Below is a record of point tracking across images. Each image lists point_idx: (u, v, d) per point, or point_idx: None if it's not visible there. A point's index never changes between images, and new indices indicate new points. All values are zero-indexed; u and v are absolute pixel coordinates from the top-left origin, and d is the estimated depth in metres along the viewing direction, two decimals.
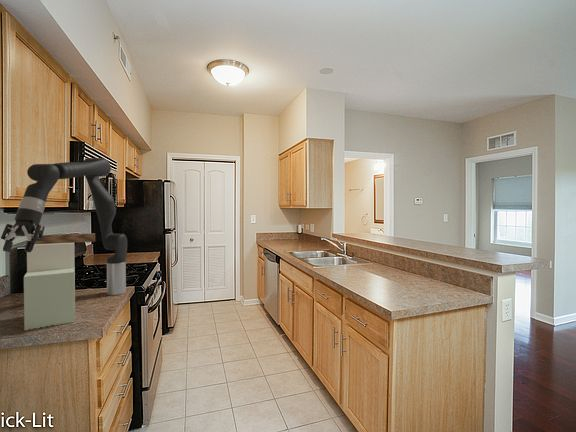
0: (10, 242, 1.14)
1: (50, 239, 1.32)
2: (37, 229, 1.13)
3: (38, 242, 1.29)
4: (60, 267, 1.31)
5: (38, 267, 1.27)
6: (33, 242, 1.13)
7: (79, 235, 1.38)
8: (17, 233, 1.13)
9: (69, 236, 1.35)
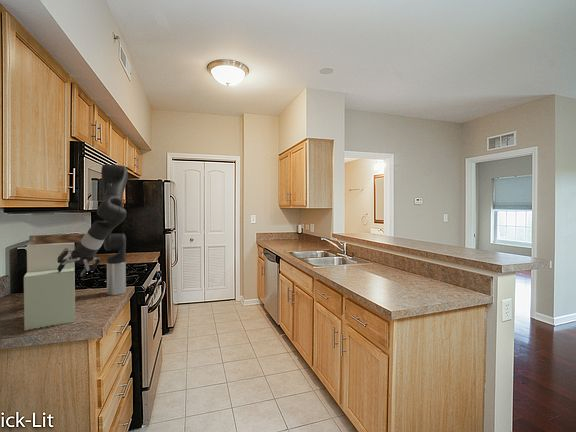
0: None
1: (50, 239, 1.32)
2: (97, 263, 1.32)
3: (38, 242, 1.29)
4: None
5: (38, 267, 1.27)
6: None
7: (79, 235, 1.38)
8: (76, 261, 1.27)
9: (69, 236, 1.35)
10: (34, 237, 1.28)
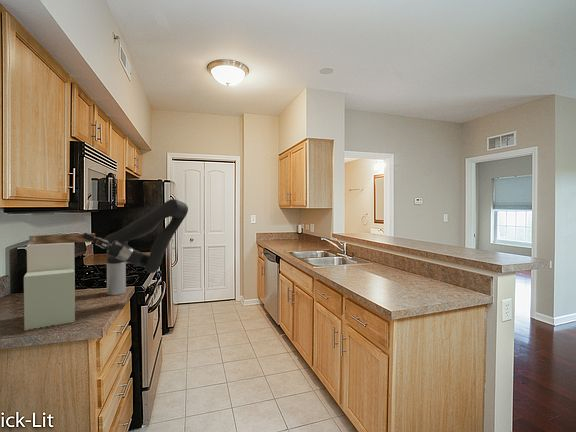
0: None
1: (50, 239, 1.32)
2: None
3: (38, 242, 1.29)
4: (60, 267, 1.31)
5: (38, 267, 1.27)
6: None
7: (79, 235, 1.38)
8: None
9: (69, 236, 1.35)
10: (34, 237, 1.28)
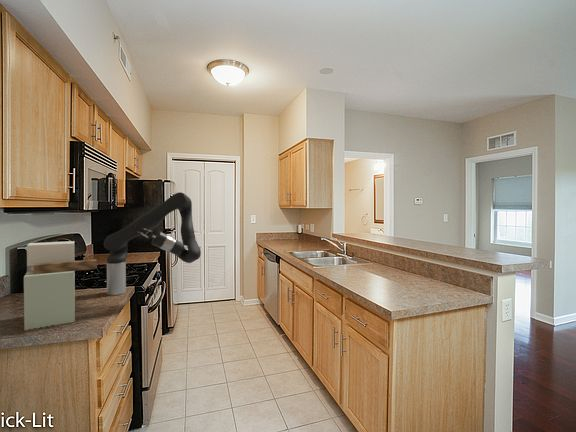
0: None
1: (49, 267, 1.24)
2: None
3: (36, 272, 1.21)
4: None
5: None
6: None
7: (80, 262, 1.30)
8: None
9: (69, 264, 1.28)
10: (32, 267, 1.21)
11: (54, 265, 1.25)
